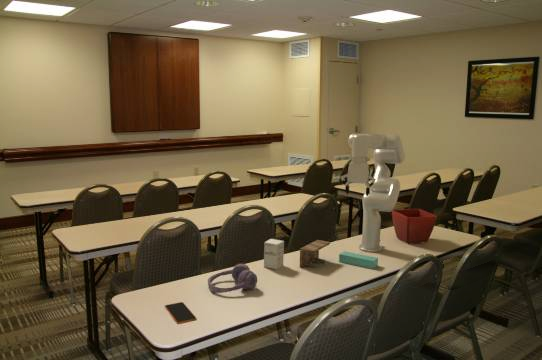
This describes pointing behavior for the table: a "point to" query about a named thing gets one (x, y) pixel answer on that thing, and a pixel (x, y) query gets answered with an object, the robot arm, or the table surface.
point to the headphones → (236, 279)
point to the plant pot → (413, 225)
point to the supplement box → (273, 253)
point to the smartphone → (180, 312)
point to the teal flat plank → (358, 260)
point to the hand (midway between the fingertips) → (357, 194)
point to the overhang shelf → (312, 253)
